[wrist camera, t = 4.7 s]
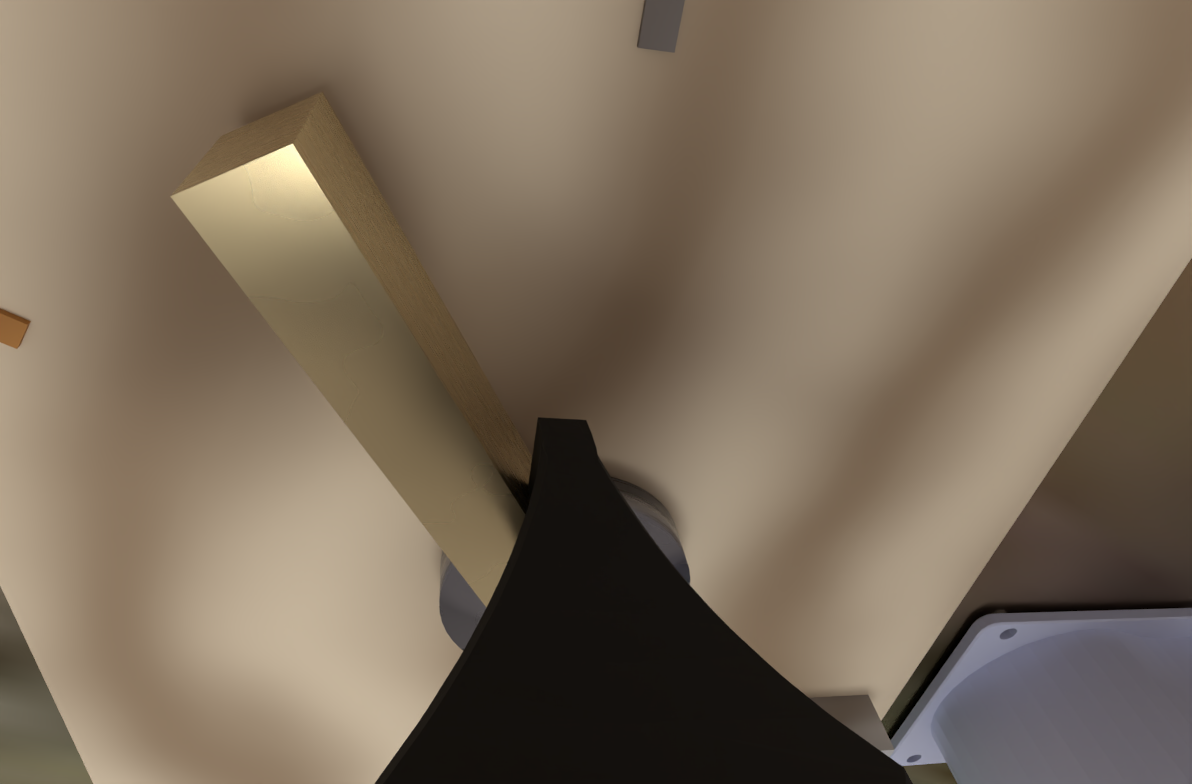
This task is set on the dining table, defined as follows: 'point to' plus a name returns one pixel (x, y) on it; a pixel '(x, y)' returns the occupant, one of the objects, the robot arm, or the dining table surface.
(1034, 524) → the dining table surface
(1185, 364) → the dining table surface
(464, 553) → the bar with round base
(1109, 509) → the dining table surface
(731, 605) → the base plate
